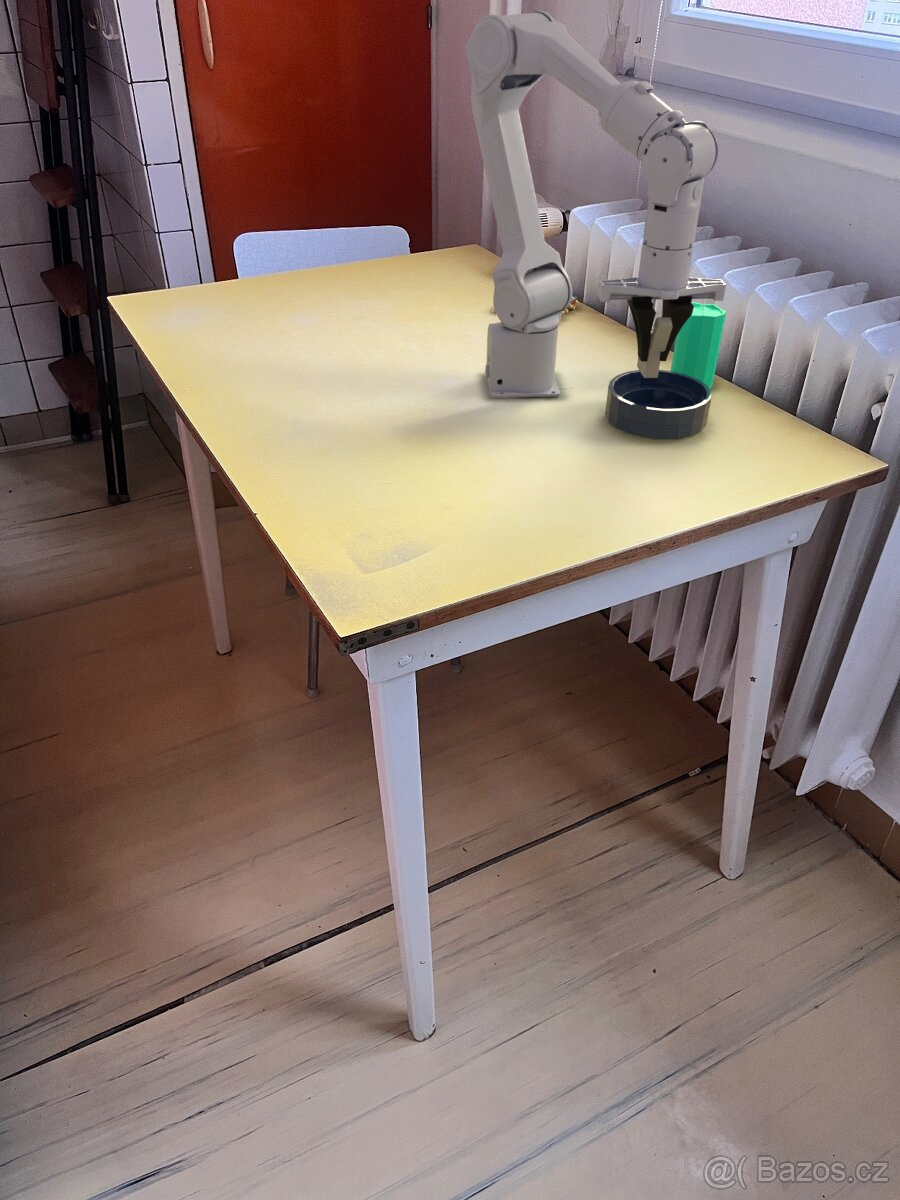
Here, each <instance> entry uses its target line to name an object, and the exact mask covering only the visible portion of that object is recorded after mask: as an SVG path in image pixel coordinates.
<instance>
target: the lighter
mask: <svg viewBox="0 0 900 1200" xmlns="http://www.w3.org/2000/svg"><path fill="white" fill-rule="evenodd" d="M672 327H673V326H672V322H671V318H670V317H662V316H660V317H659V316H658V317H655V319H654V323H653V326H652V330H651V335H650V344H649V354H648V359H647V362H642V361H641V360H640V359H639V357H638V356H637V363H636V367H637V370H640V372H641V374H642V375H643V377H644V378H657V377H658V373H659V370H660V367H661V366H660V364H661V361H660V358H661V352H662V351H665V349H666V346H667V343H668V340H669V336H670V333H671V330H672Z"/></svg>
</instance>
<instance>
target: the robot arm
mask: <svg viewBox="0 0 900 1200" xmlns="http://www.w3.org/2000/svg"><path fill="white" fill-rule="evenodd" d="M464 50H465V55H466V59H467V63H468V69H469V73H470V78H471V89H470V106H471V113H472V115H473V121H474V125H475V126H474V127H475V130H476V134H477V139H478V143H479V149H480V153H481V158H482V162H483V166H484V171H485V175H486V180H487V181H486V182H487V185H488V190H489V194H490V198H491V199H490V200H491V203H492V208H493V212H494V213H493V214H494V218H495V221H496V226H497V231H498V236H499V239H500V240H499V241H500V245H501V249H502V255H501V257H500V258H499V260H498V262H497V263H496V266H495V267H494V269H493V271H492V274H491V275H492V280H493V286H494V287H493V289H494V290H493V295H492V298H493V299H492V302H493V309H494V311H495V315H496V316H497V319H499V322H493V323H489V324H488V326H487V337H486V340H487V341H486V364H485V369H484V371H485V372H484V373H485V379H486V383H487V387H488V392H489V395H490V397H491V398H495V399H496V398H539V397H540V398H541V397H560V396H561V390H560V388H559V386H558V383H557V381H556V378H555V373H556V362H557V361H556V360H557V347H558V335H559V322H560V321H562V315H563V314H562V311H564V310H565V309H566V308H567V307H568V306H569V304H570V302H571V299H572V293H573V285H572V280H571V278H570V276H569V275H568V273H567V271H566V270H565V268H564V266H563V263H562V260H561V255H560V253H559V252H558V251H557V250H556V249H555V248H553V247H552V246H551V245H550V244H549V243H547V241H546V239H545V234H544V229H543V225H542V220H541V216H540V209H539V206H538V205H539V204H538V200H537V195H536V191H535V186H534V181H533V176H532V171H531V165H530V161H529V155H528V150H527V146H526V142H525V136H524V130H523V125H522V121H521V115H520V107H521V106H522V103H523V102H524V100H525V98H526V96H527V95H528V93H529V91H530V90H531V89H532V88H533V87H534V86H536V84H537V83H538V82H539V81H540V80H541V79H542V78H543V77H544V76H545V75H548V76H550V77H552V78H553V79H555V80H556V81H558V83H560V84H562V85H563V86H564V87H566V88H567V89H568V90H569V91H571V92H572V93H574V94H575V95H577V96H578V97H579V98H580V99H582V100H583V101H585V102H586V103H588V104H589V105H591V106H592V107H593V108H595V110H597V111H599V113H600V125H601V129H602V130H604V132H606V133H607V134H608V135H609V136H611V137H612V138H613V139H614V140H616V142H618V143H619V144H620V145H621V146H622V147H623V148H624V149H626V150H627V151H628V152H630V153H631V154H632V155H633V156H634V157H636V159H638V160H639V161H640V162H641V167H642V171H643V174H644V176H645V179H646V181H647V194H646V197H647V206H646V214H645V221H644V230H643V237H642V245H641V253H640V260H639V269H638V275H637V276H630V277H624V278H616V279H602V280H601V279H600V280H599V281H598V288H597V298H598V300H599V301H600V303H610V301H627V304H628V307H629V310H630V313H631V316H632V317H631V318H632V320H633V325H634V328H635V335H636V343H637V345H636V346H637V358H638V357H639V359H640V360H641V361H642V362H647V359H648V354H649V344H650V335H651V330H652V328H653V327H654V323H655V319H656V316H657V311H656V310H655V308H654V302H653V301H654V300H656V301H658V300H662V308H661V317H670V318H671V322H672V326H673V327H672V330H671V333H670V336H669V340H668V343H667V346H666V349H665V351H662V352H661V358H660V362H667V359H668V356H669V354H670V351H671V349H672V347H673V345H674V343H675V340H676V337H677V335H678V333H679V331H680V330H681V328H682V327H683V325H684V324H685V323H686V321H687V320H688V319H689V317H690V316H691V315H692V313H693V309H694V305H693V304H692V303H691V302H693V300H705V299H706V300H713V301H714V302H723V301H724V298H725V294H726V287H727V284H726V283H725V282H724V281H723V280H722V278H701V277H694V276H693V277H692V276H690V272H691V271H690V270H691V265H692V260H693V253H694V246H695V240H696V235H697V234H696V233H697V229H698V222H699V216H700V209H701V205H702V204H701V202H702V196H703V190H704V183H705V178H706V177H707V175H709V174H710V173H711V172H712V171H713V169H714V168H715V166H716V164H717V161H718V157H719V142H718V139H717V137H716V135H715V133H714V131H712V129H711V128H710V127H709V126H708V124H707V123H706V122H704V121H701V120H693V121H685V119H684V117H685V114H684V113H683V112H682V111H680V110H679V109H675V110H673V109H672V108H671V107H670V106H668V105H667V104H666V103H665V102H663V101H662V100H661V99H660V98H658V97H657V96H656V95H654V93H652V92H653V90H654V86H653V85H652V84H650V83H649V82H648V81H647V80H644V81H637V80H632V79H631V80H628V81H624V82H622V83H621V82H620V81H619V80H617V78H615V76H613V75H612V74H611V73H610V72H609V71H608V70H607V69H606V68H605V67H604V66H602V65H601V64H600V62H599V61H597V60H596V59H595V58H594V57H593V56H592V55H591V54H590V53H589V52H588V51H587V50H586V49H585V48H583V47H582V45H580V44H579V43H578V42H577V41H576V40H575V39H574V38H573V37H572V36H571V35H570V34H569V32H568V30H567V26H566V25H565V24H563V23H562V22H560V21H558V20H556V19H554V17H553V16H552V15H551V14H550V13H548V12H546V11H544V10H535V11H531V12H528V13H516V14H515V13H514V14H504V15H497V14H488V15H486V16H483V17H482V18H480V19H479V20H478V22H477V23H476V25H475V26H474V28H473V31H472V32H471V35H470V37H469V40H468V42H467V44H466V46H465V49H464ZM530 270H531V271H530Z"/></svg>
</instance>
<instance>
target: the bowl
mask: <svg viewBox="0 0 900 1200" xmlns="http://www.w3.org/2000/svg"><path fill="white" fill-rule="evenodd" d="M608 383H609V384H608V387H607V395H606V403H605V412H604V416H605V417H606V418H605V419H606V420H607V422H608V423H609V424H610V425H611V426H613V427H614V428H615V429H617V430H619V431H621V432H622V433H625V434H627V435H631V436H634V437H637V438H642V439H646V440H655V441H675V440H681V439H682V440H683V439H687V438H691V437H693V436H695V435H698V434H700V433H701V432H702V431H703V430H704V429H705V428H706V427H707V423H708V418H709V413H710V407H711V402H712V395H713V393H712V390H711V388H710V389H709V387H708V386H707V385H706V384H705V383H703V382H702V381H700V380H698V379H696V378H694V377H691V376H688V375H686V374H682V373H677V372H673V371H671V370H665V369H659V373H658V377H657V378H644V377H643V375H642V374H641V372H640V370H639V369H636V370H630V371H625V372H622V373H620V374H618V375H616V376H614V377H613V378H612V379H610V380H609V382H608Z"/></svg>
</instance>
